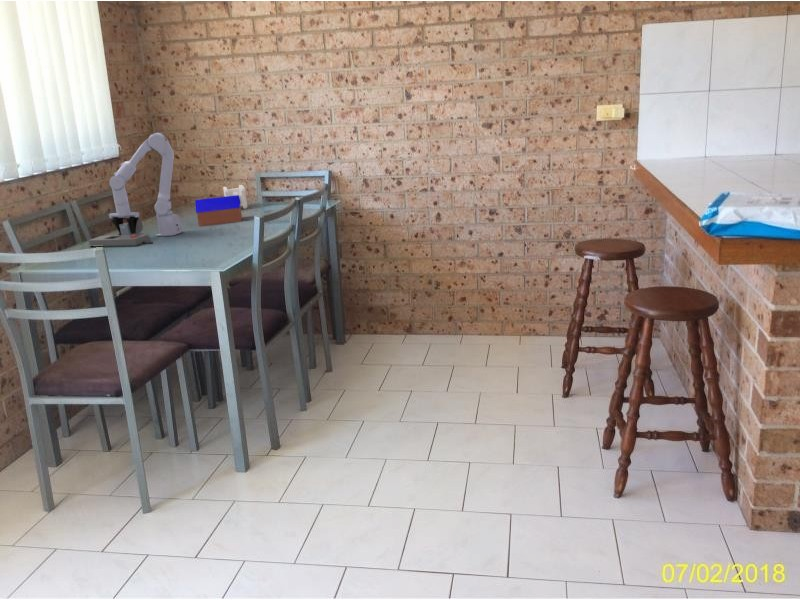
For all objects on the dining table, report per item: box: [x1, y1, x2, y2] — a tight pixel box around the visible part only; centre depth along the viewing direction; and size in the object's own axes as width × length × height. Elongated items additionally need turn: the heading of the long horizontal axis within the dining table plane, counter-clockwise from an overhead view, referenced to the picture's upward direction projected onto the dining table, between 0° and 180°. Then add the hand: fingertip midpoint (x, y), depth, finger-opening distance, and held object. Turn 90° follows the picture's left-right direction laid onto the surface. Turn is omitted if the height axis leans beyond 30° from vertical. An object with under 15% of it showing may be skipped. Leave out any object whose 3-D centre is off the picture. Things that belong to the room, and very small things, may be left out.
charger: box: [119, 223, 135, 235], centre depth 329 cm, size 4×4×7 cm
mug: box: [117, 218, 144, 235], centre depth 336 cm, size 10×8×10 cm
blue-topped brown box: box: [194, 195, 243, 227], centre depth 350 cm, size 12×20×12 cm, turn 100°
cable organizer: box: [222, 184, 248, 210], centre depth 384 cm, size 15×11×12 cm
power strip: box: [88, 233, 154, 248], centre depth 319 cm, size 29×9×4 cm, turn 72°
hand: (127, 233), depth 329 cm, fingers open, 6 cm apart
